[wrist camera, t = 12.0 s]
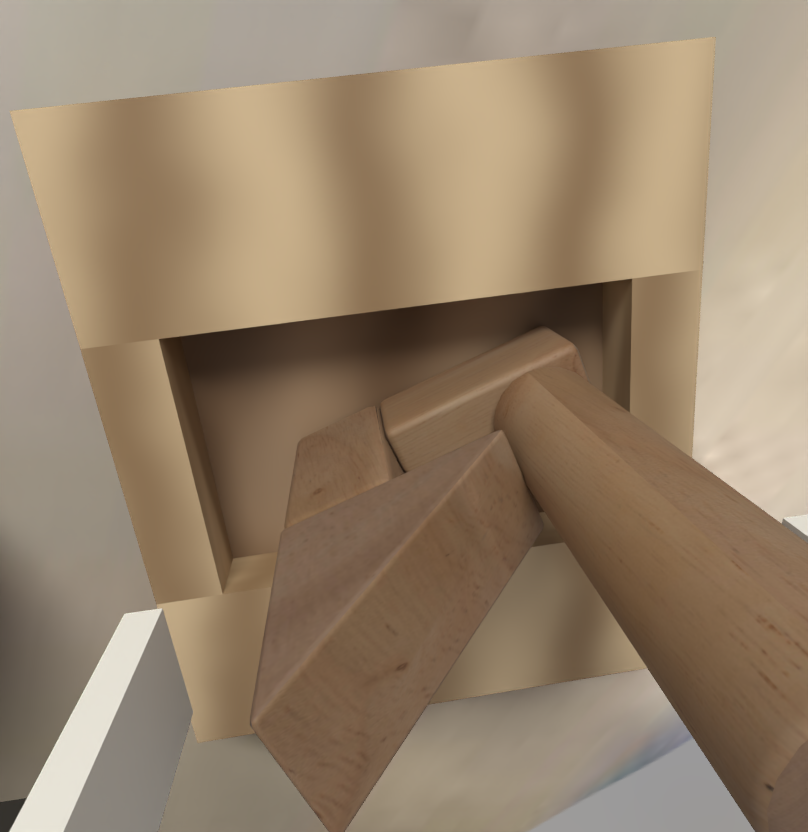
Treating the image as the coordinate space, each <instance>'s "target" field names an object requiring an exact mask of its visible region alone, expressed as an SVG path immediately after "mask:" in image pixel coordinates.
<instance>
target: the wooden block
mask: <svg viewBox="0 0 808 832" xmlns="http://www.w3.org/2000/svg"><path fill="white" fill-rule="evenodd" d="M528 488H529V489H530V491H531V492H532V494H533V495H534V497H535V498H536V500H537V501H538V503H539V504H540V506H541V507H542V509H543V510H544V512H545V513H546V515H547V517H548V518H549V520H550V521H551V523H552V524H553V526H554V527H555V529H556V530H557V532H558V533H559V535H560V536H561V538H562V539H563V541H564V542H565V544H566V545H567V547H568V548H569V550H570V551H571V553H572V554H573V556H574V557H575V559H576V561H577V562H578V564H579V565H580V567H581V568H582V570H583V571H584V573H585V574H586V576H587V577H588V579H589V580H590V582H591V583H592V585H593V586H594V588H595V589H596V591H597V592H598V594H599V595H600V597H601V598H602V600H603V601H604V603H605V604H606V606H607V608H608V609H609V611H610V612H611V614H612V615H613V617H614V618H615V620H616V621H617V623H618V624H619V626H620V627H621V629H622V630H623V632H624V633H625V635H626V636H627V638H628V639H629V641H630V642H631V644H632V645H633V647H634V648H635V650H636V652H637V653H638V655H639V656H640V658H641V659H642V661H643V662H644V664H645V665H646V667H647V668H648V670H649V671H650V673H651V674H652V676H653V677H654V679H655V680H656V682H657V683H658V685H659V686H660V688H661V689H662V691H663V692H664V694H665V695H666V697H667V699H668V700H669V702H670V703H671V705H672V706H673V708H674V709H675V711H676V712H677V714H678V715H679V717H680V718H681V720H682V721H683V723H684V724H685V726H686V727H687V729H688V730H689V732H690V733H691V735H692V736H693V738H694V739H695V741H696V743H697V744H698V746H699V747H700V749H701V750H702V752H703V753H704V755H705V756H706V758H707V759H708V761H709V762H710V764H711V765H712V767H713V768H714V770H715V771H716V773H717V774H718V776H719V777H720V779H721V780H722V782H723V783H724V785H725V787H726V788H727V790H728V791H729V792H730V794H731V796H732V797H733V798H734V800H735V802H736V803H737V804H738V806H739V808H740V809H741V811H742V812H743V814H744V815H745V817H746V818H747V820H748V821H749V823H750V824H751V826H752V827H753V829H754V830H755V832H808V543H807V542H806V541H804V540H803V539H801V538H800V537H799V536H797V535H796V534H795V533H793V532H792V531H791V530H789V529H788V528H786V527H785V526H784V525H782V524H781V523H780V522H778V521H777V520H776V519H774V518H773V517H771V516H770V515H769V514H767V513H766V512H765V511H763V510H762V509H761V508H759V507H758V506H756V505H755V504H754V503H752V502H751V501H750V500H748V499H747V498H746V497H744V496H743V495H741V494H740V493H739V492H737V491H736V490H735V489H733V488H732V487H731V486H729V485H728V484H726V483H725V482H724V481H722V480H721V479H720V478H718V477H717V476H716V475H714V474H713V473H711V472H710V471H709V470H707V469H706V468H705V467H703V466H702V465H701V464H699V463H698V462H696V461H695V460H694V459H692V458H691V457H690V456H688V455H687V454H686V453H684V452H683V451H681V450H680V449H679V448H677V447H676V446H675V445H673V444H672V443H671V442H669V441H668V440H666V439H665V438H664V437H662V436H661V435H660V434H658V433H657V432H656V431H654V430H653V429H652V428H650V427H649V426H647V425H646V424H645V423H643V422H642V421H641V420H639V419H638V418H637V417H635V416H634V415H632V414H631V413H630V412H628V411H627V410H626V409H624V408H623V407H622V406H620V405H619V404H617V403H616V402H615V401H613V400H612V399H611V398H609V397H608V396H607V395H605V394H604V393H602V392H601V391H600V390H598V389H597V388H596V387H594V386H593V385H592V384H590V381H589V378H588V375H587V373H586V370H585V367H584V364H583V362H582V359H581V356H580V353H579V351H578V348H577V347H576V346H575V345H574V344H573V343H572V342H570V341H568V340H567V339H565V338H564V337H562V336H560V335H559V334H557V333H555V332H554V331H552V330H551V329H549V328H547V327H546V326H539V327H537V328H535V329H533V330H530V331H528V332H526V333H524V334H522V335H520V336H518V337H516V338H513V339H511V340H509V341H507V342H505V343H503V344H501V345H499V346H497V347H494V348H492V349H490V350H488V351H486V352H484V353H482V354H480V355H478V356H475V357H473V358H471V359H469V360H467V361H465V362H463V363H461V364H459V365H456V366H454V367H452V368H450V369H448V370H446V371H444V372H442V373H439V374H437V375H435V376H433V377H431V378H429V379H427V380H425V381H423V382H420V383H418V384H416V385H414V386H412V387H410V388H408V389H406V390H404V391H401V392H399V393H397V394H395V395H393V396H391V397H389V398H387V399H384V400H383V401H382V402H381V403H380V410H379V409H378V408H377V407H376V406H373V407H367V408H365V409H363V410H361V411H359V412H357V413H354V414H352V415H350V416H348V417H346V418H344V419H342V420H340V421H338V422H335V423H333V424H331V425H329V426H327V427H325V428H323V429H321V430H318V431H316V432H314V433H312V434H310V435H308V436H306V437H304V438H302V439H301V440H300V441H299V442H298V444H297V450H296V456H295V462H294V469H293V475H292V481H291V487H290V493H289V499H288V505H287V511H286V517H285V523H284V528H285V529H284V530H283V531H282V532H281V535H280V541H279V547H278V553H277V559H276V565H275V571H274V577H273V583H272V589H271V595H270V601H269V607H268V613H267V619H266V624H265V630H264V636H263V642H262V648H261V654H260V660H259V666H258V672H257V678H256V684H255V690H254V696H253V702H252V708H251V714H250V726H251V728H252V729H253V730H254V732H255V733H256V735H257V736H258V737H259V739H260V740H261V741H262V743H263V744H264V745H265V747H266V748H267V749H268V751H269V752H270V753H271V755H272V756H273V757H274V759H275V760H276V761H277V763H278V764H279V765H280V767H281V768H282V769H283V771H284V772H285V773H286V775H287V776H288V778H289V779H290V780H291V782H292V783H293V784H294V786H295V787H296V788H297V790H298V791H299V792H300V794H301V795H302V796H303V798H304V799H305V800H306V802H307V803H308V804H309V806H310V807H311V808H312V810H313V811H314V812H315V814H316V815H317V817H318V818H319V819H320V821H321V822H322V823H323V825H324V826H325V827H326V829H327V830H328V831H329V832H345V830H346V829H347V827H348V826H349V824H350V823H351V821H352V819H353V818H354V816H355V815H356V813H357V812H358V810H359V809H360V807H361V806H362V804H363V803H364V801H365V800H366V798H367V797H368V795H369V794H370V792H371V791H372V789H373V787H374V786H375V784H376V783H377V781H378V780H379V778H380V777H381V775H382V774H383V772H384V771H385V769H386V768H387V766H388V765H389V763H390V762H391V760H392V758H393V757H394V755H395V754H396V752H397V751H398V749H399V748H400V746H401V745H402V743H403V742H404V740H405V739H406V737H407V736H408V734H409V733H410V731H411V730H412V728H413V726H414V725H415V723H416V722H417V720H418V719H419V717H420V716H421V714H422V713H423V711H424V710H425V708H426V707H427V705H428V704H429V702H430V701H431V699H432V697H433V696H434V694H435V693H436V691H437V690H438V688H439V687H440V685H441V684H442V682H443V681H444V679H445V678H446V676H447V675H448V673H449V672H450V670H451V669H452V667H453V665H454V664H455V662H456V661H457V659H458V658H459V656H460V655H461V653H462V652H463V650H464V649H465V647H466V646H467V644H468V643H469V641H470V640H471V638H472V636H473V635H474V633H475V632H476V630H477V629H478V627H479V626H480V624H481V623H482V621H483V620H484V618H485V617H486V615H487V614H488V612H489V611H490V609H491V607H492V606H493V604H494V603H495V601H496V600H497V598H498V597H499V595H500V594H501V592H502V591H503V589H504V588H505V586H506V585H507V583H508V582H509V580H510V579H511V577H512V575H513V574H514V572H515V571H516V569H517V568H518V566H519V565H520V563H521V562H522V560H523V559H524V557H525V556H526V554H527V553H528V551H529V550H530V548H531V546H532V545H533V543H534V542H535V540H536V539H537V537H538V536H539V534H540V533H541V531H542V530H543V526H544V524H543V521H542V519H541V516H540V514H539V512H538V509H537V507H536V505H535V502H534V500H533V498H532V495H531V493H530V491H529V489H528Z"/></svg>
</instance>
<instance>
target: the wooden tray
mask: <svg viewBox="0 0 808 832" xmlns="http://www.w3.org/2000/svg"><path fill="white" fill-rule="evenodd" d="M715 40H716V37H710V38H700V39H690V40H681V41H671V42H662V43H652V44H643V45H633V46H624V47H614V48H605V49H595V50H586V51H576V52H567V53H557V54H548V55H538V56H529V57H519V58H510V59H500V60H491V61H481V62H471V63H462V64H452V65H443V66H433V67H424V68H414V69H405V70H395V71H386V72H376V73H367V74H357V75H348V76H338V77H329V78H319V79H310V80H300V81H291V82H281V83H271V84H262V85H252V86H243V87H233V88H224V89H214V90H205V91H195V92H186V93H176V94H167V95H157V96H148V97H138V98H129V99H119V100H110V101H100V102H91V103H81V104H72V105H62V106H52V107H43V108H33V109H24V110H14V111H10V114H11V117H12V121H13V124H14V127H15V131H16V134H17V137H18V141H19V144H20V147H21V151H22V154H23V158H24V161H25V164H26V168H27V171H28V174H29V178H30V181H31V184H32V188H33V191H34V194H35V198H36V201H37V205H38V208H39V211H40V215H41V218H42V221H43V225H44V228H45V231H46V235H47V238H48V242H49V245H50V248H51V252H52V255H53V258H54V262H55V265H56V268H57V272H58V275H59V278H60V282H61V285H62V289H63V292H64V295H65V299H66V302H67V305H68V309H69V312H70V315H71V319H72V322H73V326H74V329H75V332H76V336H77V339H78V342H79V346H80V349H81V352H82V356H83V359H84V362H85V366H86V369H87V373H88V376H89V379H90V383H91V386H92V389H93V393H94V396H95V399H96V403H97V406H98V410H99V413H100V416H101V420H102V423H103V426H104V430H105V433H106V436H107V440H108V443H109V447H110V450H111V453H112V457H113V460H114V463H115V467H116V470H117V473H118V477H119V480H120V483H121V487H122V490H123V494H124V497H125V500H126V504H127V507H128V510H129V514H130V517H131V520H132V524H133V527H134V531H135V534H136V537H137V541H138V544H139V547H140V551H141V554H142V557H143V561H144V564H145V567H146V571H147V574H148V578H149V581H150V584H151V588H152V591H153V594H154V598H155V601H156V604H157V608H158V609H161V608H163V611H164V615H165V618H166V622H167V625H168V628H169V632H170V635H171V638H172V642H173V645H174V649H175V652H176V655H177V659H178V662H179V665H180V669H181V672H182V676H183V679H184V682H185V686H186V689H187V693H188V696H189V699H190V703H191V706H192V709H193V715H192V718H191V722H192V725H193V729H194V732H195V735H196V739H197V742H198V743H200V742H206V741H212V740H218V739H224V738H230V737H236V736H242V735H248V734H254V733H255V732H254V730H253V729H252V728H251V726H250V714H251V708H252V702H253V696H254V690H255V684H256V678H257V672H258V666H259V660H260V654H261V648H262V642H263V636H264V630H265V624H266V619H267V613H268V607H269V601H270V595H271V589H272V583H273V577H274V571H275V565H276V559H277V553H278V547H279V541H280V535H281V532H282V531H283V530H284V529H285V528H284V523H285V517H286V511H287V505H288V499H289V493H290V487H291V481H292V475H293V469H294V462H295V456H296V450H297V444H298V442H299V441H300V440H301V439H302V438H304V437H306V436H308V435H310V434H312V433H314V432H316V431H318V430H321V429H323V428H325V427H327V426H329V425H331V424H333V423H335V422H338V421H340V420H342V419H344V418H346V417H348V416H350V415H352V414H354V413H357V412H359V411H361V410H363V409H365V408H367V407H373V406H376V407H377V408H378V409H379V410H380V403H381V402H382V401H383V400H384V399H387V398H389V397H391V396H393V395H395V394H397V393H399V392H401V391H404V390H406V389H408V388H410V387H412V386H414V385H416V384H418V383H420V382H423V381H425V380H427V379H429V378H431V377H433V376H435V375H437V374H439V373H442V372H444V371H446V370H448V369H450V368H452V367H454V366H456V365H459V364H461V363H463V362H465V361H467V360H469V359H471V358H473V357H475V356H478V355H480V354H482V353H484V352H486V351H488V350H490V349H492V348H494V347H497V346H499V345H501V344H503V343H505V342H507V341H509V340H511V339H513V338H516V337H518V336H520V335H522V334H524V333H526V332H528V331H530V330H533V329H535V328H537V327H539V326H546V327H547V328H549V329H551V330H552V331H554V332H555V333H557V334H559V335H560V336H562V337H564V338H565V339H567V340H568V341H570V342H572V343H573V344H574V345H575V346H576V347H577V348H578V351H579V353H580V356H581V359H582V362H583V364H584V367H585V370H586V373H587V375H588V378H589V381H590V384H592V385H593V386H594V387H596V388H597V389H598V390H600V391H601V392H602V393H604V394H605V395H607V396H608V397H609V398H611V399H612V400H613V401H615V402H616V403H617V404H619V405H620V406H622V407H623V408H624V409H626V410H627V411H628V412H630V413H631V414H632V415H634V416H635V417H637V418H638V419H639V420H641V421H642V422H643V423H645V424H646V425H647V426H649V427H650V428H652V429H653V430H654V431H656V432H657V433H658V434H660V435H661V436H662V437H664V438H665V439H666V440H668V441H669V442H671V443H672V444H673V445H675V446H676V447H677V448H679V449H680V450H681V451H683V452H684V453H686V454H687V455H688V456H690V457H691V458H692V447H693V430H694V412H695V394H696V377H697V359H698V341H699V323H700V306H701V288H702V270H703V253H704V235H705V217H706V200H707V182H708V164H709V146H710V129H711V111H712V93H713V76H714V58H715ZM528 489H529V488H528ZM529 491H530V489H529ZM530 493H531V495H532V498H533V500H534V502H535V505H536V507H537V509H538V512H539V514H540V516H541V519H542V521H543V524H544V526H543V530H542V531H541V533H540V534H539V536H538V537H537V539H536V540H535V542H534V543H533V545H532V546H531V548H530V550H529V551H528V553H527V554H526V556H525V557H524V559H523V560H522V562H521V563H520V565H519V566H518V568H517V569H516V571H515V572H514V574H513V575H512V577H511V579H510V580H509V582H508V583H507V585H506V586H505V588H504V589H503V591H502V592H501V594H500V595H499V597H498V598H497V600H496V601H495V603H494V604H493V606H492V607H491V609H490V611H489V612H488V614H487V615H486V617H485V618H484V620H483V621H482V623H481V624H480V626H479V627H478V629H477V630H476V632H475V633H474V635H473V636H472V638H471V640H470V641H469V643H468V644H467V646H466V647H465V649H464V650H463V652H462V653H461V655H460V656H459V658H458V659H457V661H456V662H455V664H454V665H453V667H452V669H451V670H450V672H449V673H448V675H447V676H446V678H445V679H444V681H443V682H442V684H441V685H440V687H439V688H438V690H437V691H436V693H435V694H434V696H433V697H432V699H431V701H430V702H429V704H435V703H441V702H447V701H453V700H459V699H465V698H471V697H477V696H483V695H489V694H495V693H501V692H507V691H513V690H519V689H525V688H531V687H537V686H543V685H549V684H555V683H561V682H567V681H573V680H579V679H585V678H591V677H597V676H603V675H609V674H615V673H621V672H627V671H633V670H639V669H645V668H647V667H646V665H645V664H644V662H643V661H642V659H641V658H640V656H639V655H638V653H637V652H636V650H635V648H634V647H633V645H632V644H631V642H630V641H629V639H628V638H627V636H626V635H625V633H624V632H623V630H622V629H621V627H620V626H619V624H618V623H617V621H616V620H615V618H614V617H613V615H612V614H611V612H610V611H609V609H608V608H607V606H606V604H605V603H604V601H603V600H602V598H601V597H600V595H599V594H598V592H597V591H596V589H595V588H594V586H593V585H592V583H591V582H590V580H589V579H588V577H587V576H586V574H585V573H584V571H583V570H582V568H581V567H580V565H579V564H578V562H577V561H576V559H575V557H574V556H573V554H572V553H571V551H570V550H569V548H568V547H567V545H566V544H565V542H564V541H563V539H562V538H561V536H560V535H559V533H558V532H557V530H556V529H555V527H554V526H553V524H552V523H551V521H550V520H549V518H548V517H547V515H546V513H545V512H544V510H543V509H542V507H541V506H540V504H539V503H538V501H537V500H536V498H535V497H534V495H533V494H532V492H531V491H530ZM429 704H428V705H429Z"/></svg>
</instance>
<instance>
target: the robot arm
mask: <svg viewBox="0 0 808 832" xmlns="http://www.w3.org/2000/svg"><path fill="white" fill-rule="evenodd" d="M782 525H784V526H785V527H786V528H788V529H789V530H791V531H792V532H793V533H795V534H796V535H797V536H799V537H800V538H801V539H803V540H804V541H806V542H807V543H808V514H807V515H800V516H793V517H786V518H783V522H782ZM192 715H193V709H192V706H191V703H190V699H189V696H188V693H187V689H186V686H185V682H184V679H183V676H182V672H181V669H180V665H179V662H178V659H177V655H176V652H175V649H174V645H173V642H172V638H171V635H170V632H169V628H168V625H167V622H166V618H165V615H164V611H163V608H161V609H154V610H147V611H140V612H133V613H127V614H124V616H123V618H122V619H121V621H120V623H119V625H118V627H117V629H116V631H115V633H114V635H113V637H112V638H111V640H110V642H109V644H108V646H107V648H106V650H105V652H104V654H103V655H102V657H101V659H100V661H99V663H98V665H97V667H96V669H95V671H94V672H93V674H92V676H91V678H90V680H89V682H88V684H87V686H86V688H85V689H84V691H83V693H82V695H81V697H80V699H79V701H78V703H77V705H76V707H75V708H74V710H73V712H72V714H71V716H70V718H69V720H68V722H67V724H66V725H65V727H64V729H63V731H62V733H61V735H60V737H59V739H58V741H57V742H56V744H55V746H54V748H53V750H52V752H51V754H50V756H49V758H48V759H47V761H46V763H45V765H44V767H43V769H42V771H41V773H40V775H39V776H38V778H37V780H36V782H35V784H34V786H33V788H32V790H31V792H30V794H29V795H28V797H27V798H25V799H18V800H12V801H6V802H0V832H158V830H159V827H160V823H161V820H162V816H163V813H164V810H165V806H166V803H167V799H168V796H169V793H170V789H171V786H172V783H173V779H174V776H175V772H176V769H177V766H178V762H179V759H180V755H181V752H182V749H183V745H184V742H185V738H186V735H187V732H188V728H189V725H190V722H191V718H192Z"/></svg>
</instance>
